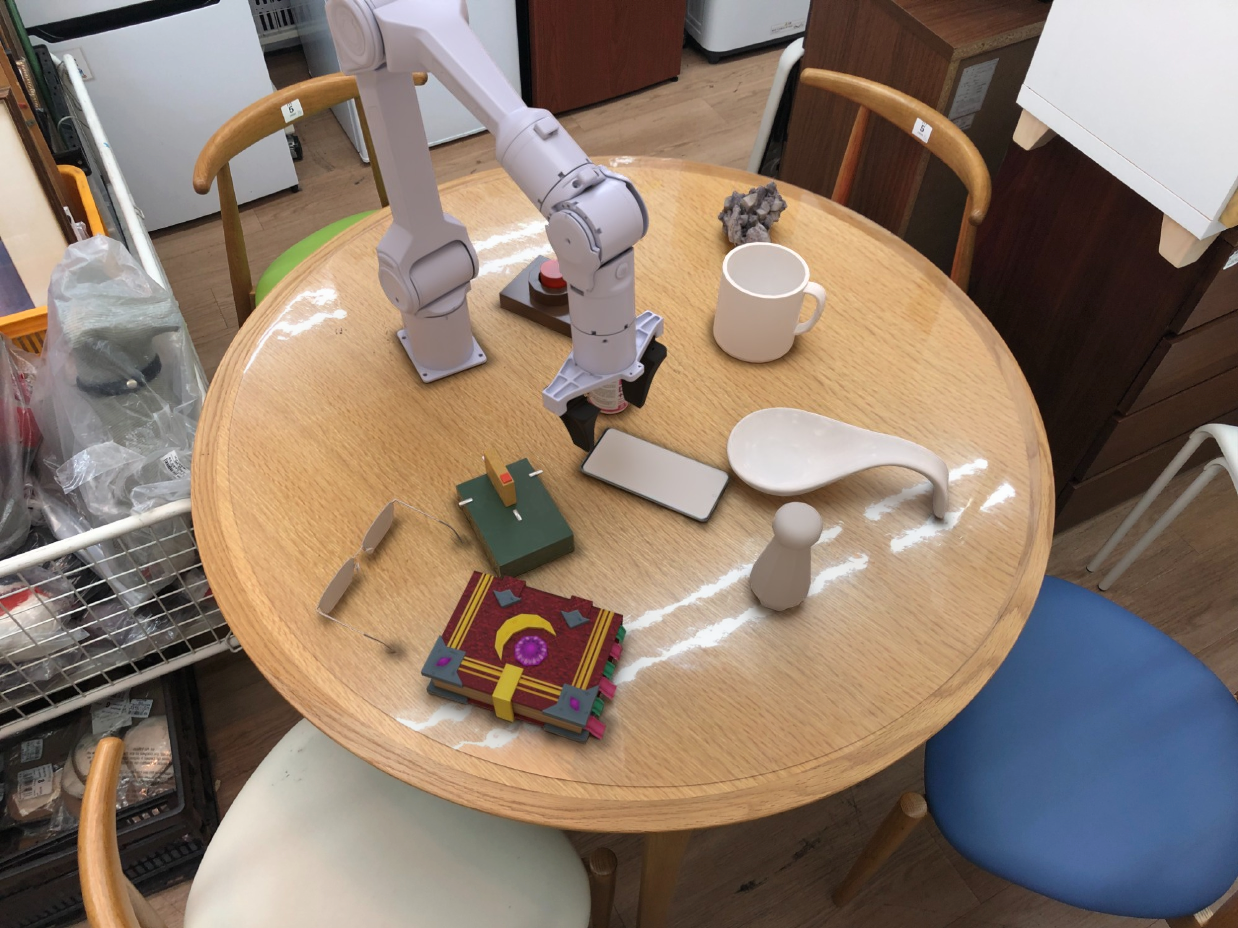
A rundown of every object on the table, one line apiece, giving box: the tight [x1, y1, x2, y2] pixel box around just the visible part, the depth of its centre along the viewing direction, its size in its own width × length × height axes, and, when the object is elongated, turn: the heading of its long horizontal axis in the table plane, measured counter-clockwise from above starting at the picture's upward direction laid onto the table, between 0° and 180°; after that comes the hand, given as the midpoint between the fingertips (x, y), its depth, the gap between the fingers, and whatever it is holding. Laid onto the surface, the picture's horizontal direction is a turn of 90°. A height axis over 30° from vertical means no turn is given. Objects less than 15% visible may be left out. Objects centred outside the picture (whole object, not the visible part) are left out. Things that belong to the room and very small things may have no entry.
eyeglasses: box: [314, 498, 465, 653], centre depth 86 cm, size 14×8×4 cm, turn 157°
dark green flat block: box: [455, 455, 575, 579], centre depth 91 cm, size 13×9×3 cm
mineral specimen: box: [717, 180, 788, 248], centre depth 119 cm, size 12×9×10 cm
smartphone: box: [580, 426, 731, 522], centre depth 96 cm, size 7×1×15 cm
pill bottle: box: [588, 379, 630, 415], centre depth 99 cm, size 5×5×8 cm
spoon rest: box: [726, 406, 950, 519], centre depth 93 cm, size 24×12×7 cm, turn 77°
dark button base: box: [498, 254, 572, 339], centre depth 111 cm, size 11×9×4 cm
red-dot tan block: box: [482, 446, 517, 507], centre depth 89 cm, size 5×1×4 cm, turn 29°
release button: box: [540, 258, 567, 289], centre depth 109 cm, size 4×4×2 cm
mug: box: [712, 242, 827, 364], centre depth 106 cm, size 13×10×10 cm
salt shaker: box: [749, 501, 824, 613], centre depth 82 cm, size 6×6×13 cm
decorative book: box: [420, 569, 627, 745], centre depth 80 cm, size 11×16×5 cm
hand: (609, 424), depth 87 cm, fingers open, 7 cm apart
